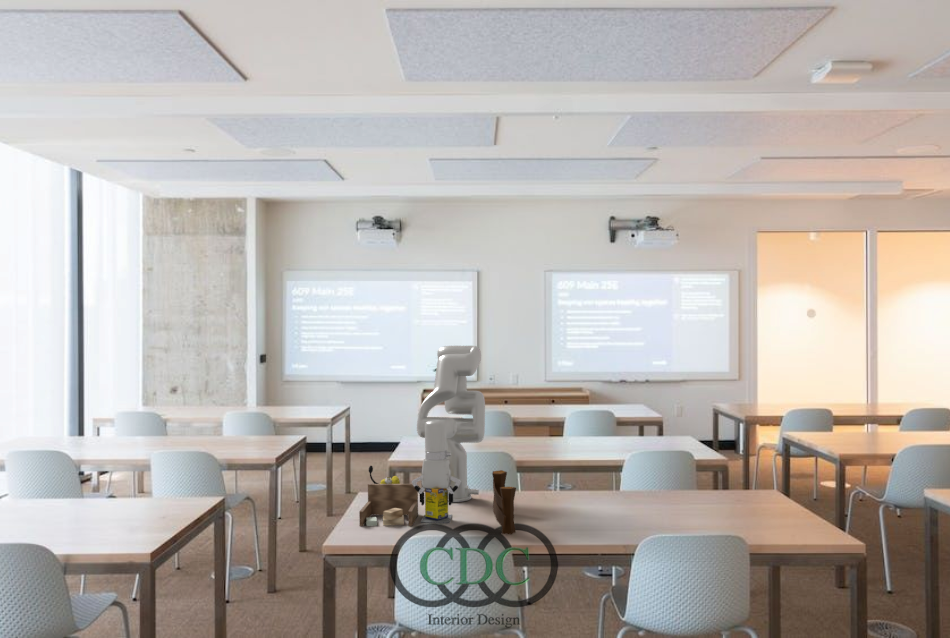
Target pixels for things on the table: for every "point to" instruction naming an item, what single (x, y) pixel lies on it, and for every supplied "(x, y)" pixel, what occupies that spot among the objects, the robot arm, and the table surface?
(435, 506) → the supplement box
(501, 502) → the decorative fence
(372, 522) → the offcut
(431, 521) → the pad
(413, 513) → the rack
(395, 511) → the offcut
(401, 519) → the offcut
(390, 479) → the toy
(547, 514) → the table surface
